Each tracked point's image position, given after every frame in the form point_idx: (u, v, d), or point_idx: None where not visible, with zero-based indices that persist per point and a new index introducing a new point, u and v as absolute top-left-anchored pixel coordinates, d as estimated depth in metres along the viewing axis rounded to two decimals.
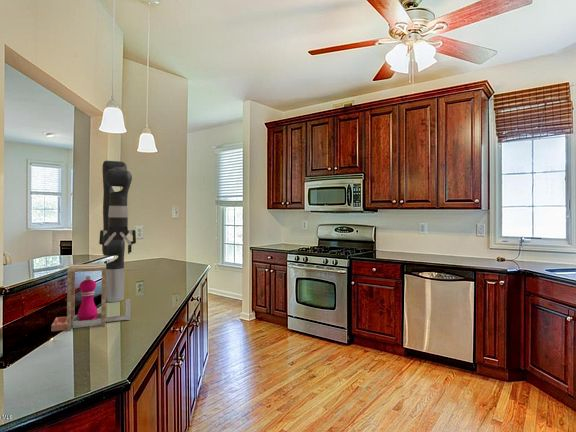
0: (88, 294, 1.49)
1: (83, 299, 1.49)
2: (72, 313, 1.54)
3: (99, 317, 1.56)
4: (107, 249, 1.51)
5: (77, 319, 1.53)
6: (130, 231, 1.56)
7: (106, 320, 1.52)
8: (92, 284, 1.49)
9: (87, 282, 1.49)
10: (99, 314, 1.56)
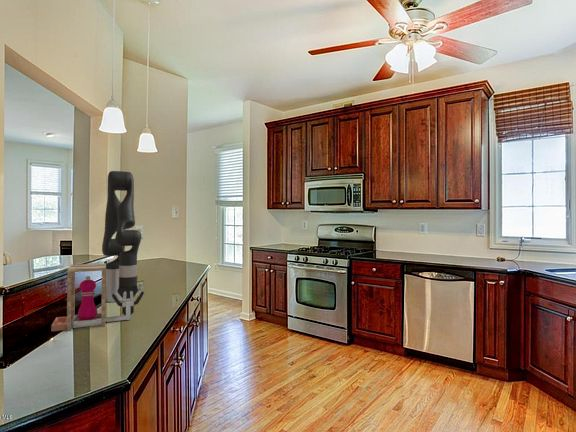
0: (88, 294, 1.49)
1: (83, 299, 1.49)
2: (72, 313, 1.54)
3: (99, 317, 1.56)
4: (125, 310, 1.56)
5: (77, 319, 1.53)
6: (139, 291, 1.59)
7: (106, 320, 1.52)
8: (92, 284, 1.49)
9: (87, 282, 1.49)
10: (99, 314, 1.56)
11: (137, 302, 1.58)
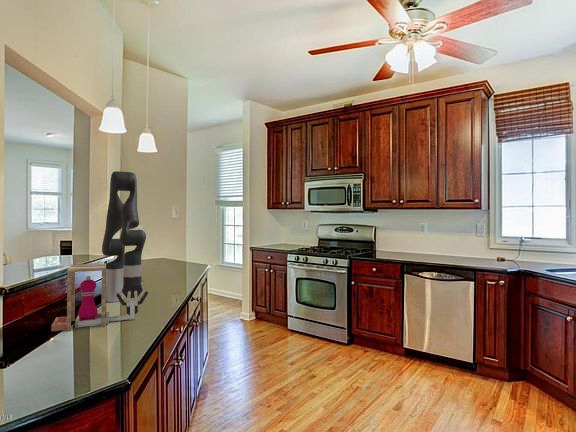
0: (88, 294, 1.49)
1: (83, 299, 1.49)
2: (72, 313, 1.54)
3: None
4: (129, 310, 1.56)
5: None
6: (143, 291, 1.60)
7: (110, 320, 1.53)
8: (92, 284, 1.49)
9: (87, 282, 1.49)
10: None
11: (141, 302, 1.58)
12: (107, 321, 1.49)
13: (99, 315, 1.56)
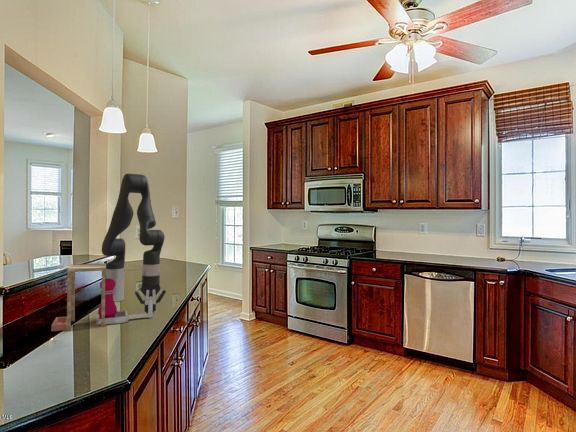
0: (108, 292, 1.52)
1: None
2: (72, 313, 1.54)
3: (122, 315, 1.60)
4: (147, 308, 1.60)
5: None
6: (161, 290, 1.63)
7: (129, 317, 1.56)
8: (112, 283, 1.52)
9: (107, 281, 1.52)
10: (122, 312, 1.60)
11: (159, 300, 1.62)
12: (126, 319, 1.52)
13: (118, 313, 1.60)
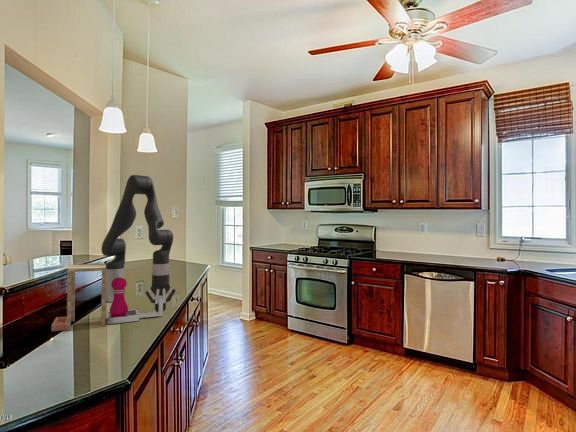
0: (119, 292, 1.54)
1: (115, 297, 1.54)
2: (72, 313, 1.54)
3: (133, 314, 1.62)
4: None
5: None
6: (171, 289, 1.65)
7: (140, 316, 1.58)
8: (123, 282, 1.54)
9: (118, 280, 1.54)
10: (133, 311, 1.62)
11: (169, 299, 1.64)
12: (138, 318, 1.54)
13: (128, 312, 1.61)
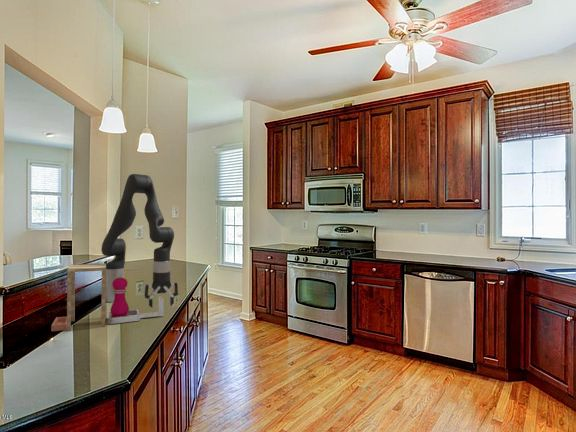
0: (120, 292, 1.54)
1: (116, 297, 1.54)
2: (72, 313, 1.54)
3: (133, 313, 1.62)
4: (152, 302, 1.61)
5: None
6: (172, 284, 1.65)
7: (141, 316, 1.58)
8: (124, 282, 1.54)
9: (119, 280, 1.54)
10: (133, 311, 1.62)
11: (176, 293, 1.65)
12: (139, 318, 1.54)
13: (129, 312, 1.62)
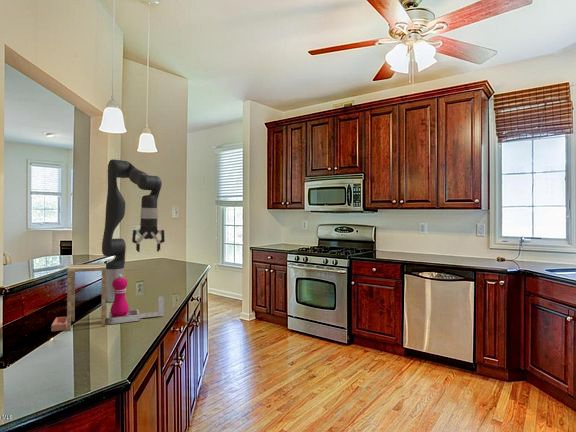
0: (120, 292, 1.54)
1: (116, 297, 1.54)
2: (72, 313, 1.54)
3: (133, 313, 1.62)
4: (139, 247, 1.67)
5: None
6: (159, 231, 1.71)
7: (141, 316, 1.58)
8: (124, 282, 1.54)
9: (119, 280, 1.54)
10: (133, 311, 1.62)
11: (163, 240, 1.72)
12: (139, 318, 1.54)
13: (129, 312, 1.62)
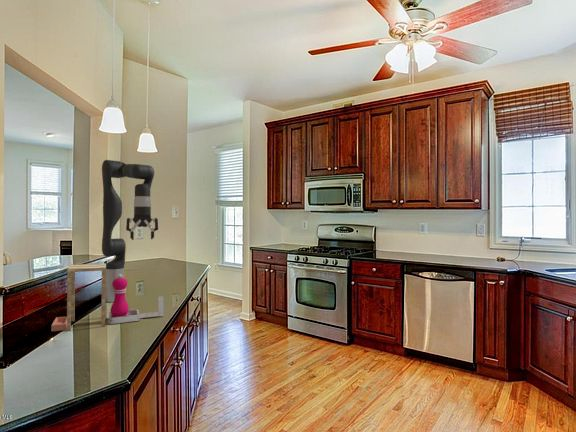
0: (120, 292, 1.54)
1: (116, 297, 1.54)
2: (72, 313, 1.54)
3: (133, 313, 1.62)
4: (133, 235, 1.70)
5: None
6: (153, 219, 1.74)
7: (141, 316, 1.58)
8: (124, 282, 1.54)
9: (119, 280, 1.54)
10: (133, 311, 1.62)
11: (157, 228, 1.75)
12: (139, 318, 1.54)
13: (129, 312, 1.62)
